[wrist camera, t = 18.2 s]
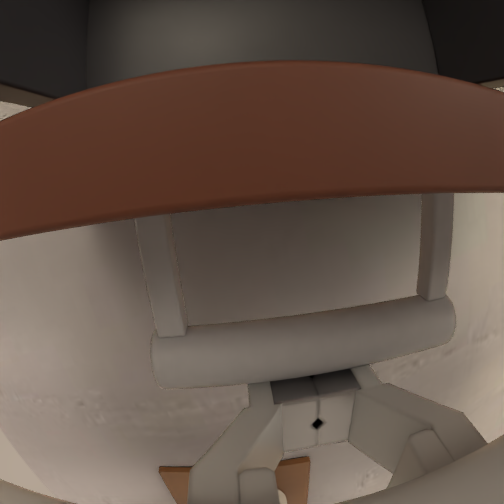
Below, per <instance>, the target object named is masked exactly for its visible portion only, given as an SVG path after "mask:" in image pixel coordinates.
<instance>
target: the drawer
mask: <svg viewBox="0 0 504 504" xmlns="http://www.w3.org/2000/svg"><path fill="white" fill-rule="evenodd" d="M498 87H504V0H0V101H3V102H8V103H13V104H18V105H23V106H28V107H32V108H30V109H28V110H25V111H23V112H20V113H18V114H15V115H13V116H11V117H8V118H6V119H4V120H2V121H0V241H2V240H7V239H12V238H17V237H23V236H28V235H33V234H39V233H45V232H50V231H56V230H62V229H68V228H74V227H81V226H87V225H93V224H100V223H107V222H113V221H120V220H127V219H134V220H135V227H136V233H137V239H138V245H139V250H140V256H141V261H142V267H143V272H144V277H145V282H146V287H147V291H148V296H149V301H150V305H151V310H152V314H153V318H154V322H155V327H156V330H155V331H154V333H153V335H152V339H151V347H150V357H151V366H152V371H153V374H154V377H155V380H156V382H157V384H158V386H159V387H160V388H163V389H183V388H203V387H218V386H230V385H241V384H251V383H260V382H268V381H276V380H284V379H291V378H298V377H304V376H310V375H316V374H322V373H328V372H333V371H339V370H344V369H349V368H354V367H358V366H363V365H368V364H372V363H377V362H381V361H385V360H389V359H393V358H397V357H401V356H405V355H409V354H412V353H416V352H420V351H423V350H427V349H430V348H434V347H437V346H440V345H444V344H446V343H448V342H449V341H450V340H451V338H452V337H453V335H454V332H455V328H456V315H455V310H454V307H453V304H452V302H451V300H450V299H449V297H448V296H447V295H446V291H447V283H448V276H449V267H450V257H451V245H452V231H453V207H454V193H504V92H501V91H498V90H495V89H492V88H498ZM402 194H421V238H420V256H419V269H418V280H417V290H416V291H417V294H419V295H416V296H411V297H406V298H400V299H395V300H390V301H384V302H378V303H373V304H367V305H361V306H355V307H348V308H342V309H335V310H329V311H322V312H315V313H308V314H300V315H293V316H285V317H277V318H268V319H260V320H251V321H241V322H231V323H221V324H210V325H198V326H187V325H188V319H187V314H186V309H185V303H184V298H183V292H182V287H181V281H180V275H179V269H178V263H177V257H176V250H175V244H174V237H173V230H172V223H171V215H170V214H173V213H181V212H189V211H198V210H207V209H216V208H225V207H235V206H245V205H255V204H266V203H278V202H289V201H302V200H315V199H329V198H344V197H361V196H380V195H402Z"/></svg>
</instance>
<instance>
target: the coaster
mask: <svg viewBox="0 0 504 504" xmlns="http://www.w3.org/2000/svg"><path fill="white" fill-rule="evenodd" d="M191 468H192V467H159V473H160V475H161V477H162V479H163V481H164V482H165V484H166V486H167V488H168V489H169V491H170V493H171V494H172V496H173V498H174V499H175V501H176V503H177V504H187V497H188V485H189V474H190V469H191ZM274 472H275V477H276V483H277V489H279V490H280V491H282V492H283V493H284V494H285V496H286V499H287V504H307V497H308V485H309V473H310V458H309V457H302V458H296V459H290V460H283V461H280V462H279V464H278V466H277V468H276V469H275V471H274Z"/></svg>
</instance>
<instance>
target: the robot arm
mask: <svg viewBox="0 0 504 504" xmlns="http://www.w3.org/2000/svg"><path fill="white" fill-rule="evenodd" d="M248 393H249V403H250V407H249V408H244V409H243V410H242V411H241V412H240V413H239V415H238V416H237V417H236V418H235V419H234V421H233V422H232V423H231V424H230V425H229V427H228V428H227V429H226V430H225V431H224V432H223V434H222V435H221V436H220V437H219V438H218V439H217V440H216V442H215V443H214V444H213V445H212V446H211V447H210V448H209V450H208V451H207V452H206V453H205V454H204V455H203V456H202V457H201V458H200V460H199V461H198V462H197V463H196V464H195V465H194V466H193V467H192V468H191V469H190V474H189V485H188V497H187V504H280V500H279V494H278V489H277V483H276V477H275V472H274V471H275V469H276V468H277V466H278V464H279V462H280V460H281V458H282V456H283V452H289V451H295V450H300V449H305V448H310V447H315V446H321V445H327V444H332V443H337V442H342V441H347V440H348V442H349V443H350V444H352V445H353V446H354V447H356V448H357V449H358V450H360V451H361V452H363V453H364V454H365V455H367V456H368V457H370V458H371V459H372V460H374V461H375V462H377V463H378V464H380V465H381V466H383V467H384V468H385V469H387V470H388V471H390V472H391V473H393V476H392V478H391V481H390V483H389V485H388V487H387V489H385V490H382V491H379V492H376V493H372V494H369V495H366V496H362V497H358V498H355V499H351V500H347V501H343V502H339V503H335V504H504V434H503V435H502V436H500V437H499V438H497V439H495V440H494V441H492V442H490V443H487V442H486V441H485V440H484V438H483V437H482V436H481V435H480V433H479V432H478V431H477V430H476V428H475V427H474V426H473V424H472V423H471V422H470V421H469V420H468V418H467V417H466V416H465V415H464V413H463V412H460V411H457V410H455V409H452V408H449V407H447V406H444V405H441V404H439V403H436V402H434V401H431V400H428V399H426V398H423V397H421V396H418V395H416V394H413V393H411V392H408V391H406V390H404V389H401V388H399V387H396V386H394V385H392V384H389V383H385V384H382V383H381V381H380V380H379V378H378V377H377V375H376V374H375V372H374V371H373V369H372V368H371V366H370V365H369V364H368V365H363V366H358V367H354V368H349V369H344V370H339V371H333V372H328V373H322V374H316V375H310V376H304V377H298V378H291V379H284V380H276V381H268V382H260V383H251V384H248ZM0 504H76V503H72V502H68V501H64V500H61V499H57V498H53V497H50V496H47V495H43V494H40V493H37V492H34V491H31V490H28V489H25V488H22V487H20V486H17V485H14V484H12V483H9V482H6V481H4V480H2V479H0Z"/></svg>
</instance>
